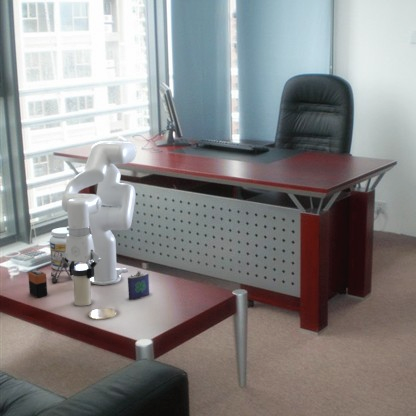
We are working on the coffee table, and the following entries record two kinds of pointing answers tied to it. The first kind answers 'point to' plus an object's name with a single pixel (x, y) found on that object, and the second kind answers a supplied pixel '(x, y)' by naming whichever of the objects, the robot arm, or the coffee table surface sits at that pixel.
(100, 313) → the coaster
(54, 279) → the tablet stand
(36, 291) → the battery
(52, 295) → the coffee table surface
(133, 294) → the flask
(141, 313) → the coffee table surface
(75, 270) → the lid
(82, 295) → the jar
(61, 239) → the supplement tub
